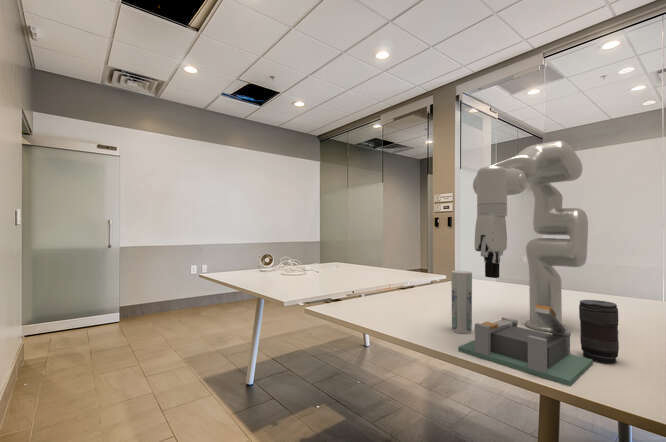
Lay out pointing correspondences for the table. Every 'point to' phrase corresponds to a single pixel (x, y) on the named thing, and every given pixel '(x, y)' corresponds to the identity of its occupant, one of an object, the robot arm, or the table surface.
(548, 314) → the strap
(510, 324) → the strap
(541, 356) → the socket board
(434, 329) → the table surface
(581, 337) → the camera lens
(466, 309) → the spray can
